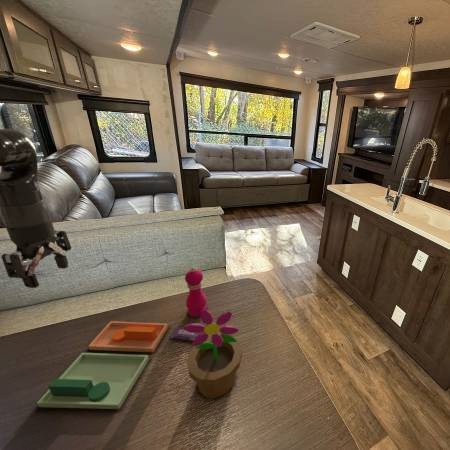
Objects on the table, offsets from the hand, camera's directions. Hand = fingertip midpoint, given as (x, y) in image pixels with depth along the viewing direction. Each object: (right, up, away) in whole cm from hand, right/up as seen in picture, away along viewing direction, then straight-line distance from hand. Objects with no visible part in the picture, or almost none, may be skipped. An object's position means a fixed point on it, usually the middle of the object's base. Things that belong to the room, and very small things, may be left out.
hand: (49, 276), depth 64 cm
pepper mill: (+26, -20, +31) cm, 45 cm away
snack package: (+28, -25, +20) cm, 43 cm away
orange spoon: (+10, -24, +17) cm, 31 cm away
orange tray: (+10, -24, +17) cm, 31 cm away
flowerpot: (+41, -32, +7) cm, 53 cm away
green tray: (+10, -30, +4) cm, 32 cm away
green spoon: (+9, -31, 0) cm, 32 cm away
